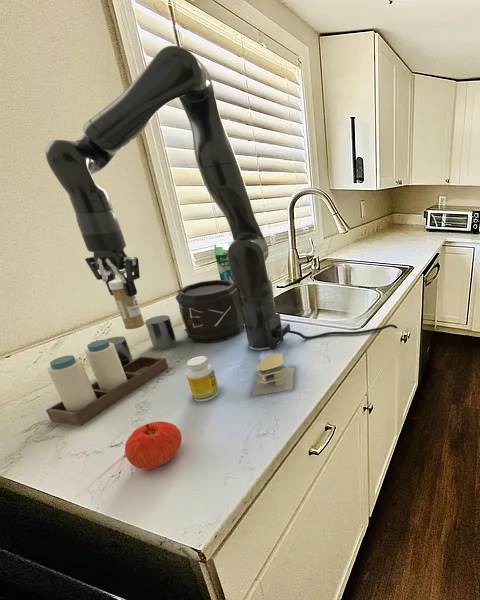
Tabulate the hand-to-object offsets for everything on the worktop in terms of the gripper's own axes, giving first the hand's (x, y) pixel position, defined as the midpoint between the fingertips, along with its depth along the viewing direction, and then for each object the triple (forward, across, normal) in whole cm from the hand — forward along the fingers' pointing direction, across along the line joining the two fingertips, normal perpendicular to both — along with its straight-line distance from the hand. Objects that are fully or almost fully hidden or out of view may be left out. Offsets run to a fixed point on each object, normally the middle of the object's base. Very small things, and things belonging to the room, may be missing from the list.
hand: (124, 294), depth 86 cm
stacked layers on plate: (+20, -43, +4) cm, 47 cm away
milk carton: (+20, -4, -38) cm, 43 cm away
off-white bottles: (+19, -8, +19) cm, 28 cm away
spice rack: (+19, -8, +15) cm, 26 cm away
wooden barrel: (+20, -9, -18) cm, 28 cm away
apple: (+20, -35, +30) cm, 50 cm away
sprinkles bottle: (+10, 0, 0) cm, 10 cm away
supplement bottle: (+20, -30, +12) cm, 38 cm away
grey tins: (+19, 0, 0) cm, 19 cm away
